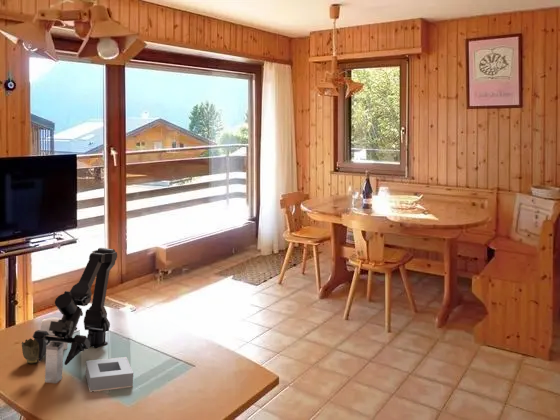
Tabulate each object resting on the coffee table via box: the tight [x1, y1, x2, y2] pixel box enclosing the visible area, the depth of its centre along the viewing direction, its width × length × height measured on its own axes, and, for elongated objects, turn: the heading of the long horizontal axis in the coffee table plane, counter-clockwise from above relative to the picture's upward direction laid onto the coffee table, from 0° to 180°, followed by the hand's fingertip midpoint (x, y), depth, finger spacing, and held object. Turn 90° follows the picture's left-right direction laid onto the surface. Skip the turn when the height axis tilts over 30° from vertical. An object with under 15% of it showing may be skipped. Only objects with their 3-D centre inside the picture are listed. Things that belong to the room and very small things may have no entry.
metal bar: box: [44, 341, 64, 384], centre depth 181 cm, size 4×4×13 cm
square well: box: [84, 356, 134, 393], centre depth 185 cm, size 14×14×5 cm
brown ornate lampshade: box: [21, 338, 39, 365], centre depth 193 cm, size 8×7×8 cm
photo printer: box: [39, 317, 69, 350], centre depth 207 cm, size 10×4×12 cm, turn 103°
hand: (52, 363), depth 180 cm, fingers open, 9 cm apart
